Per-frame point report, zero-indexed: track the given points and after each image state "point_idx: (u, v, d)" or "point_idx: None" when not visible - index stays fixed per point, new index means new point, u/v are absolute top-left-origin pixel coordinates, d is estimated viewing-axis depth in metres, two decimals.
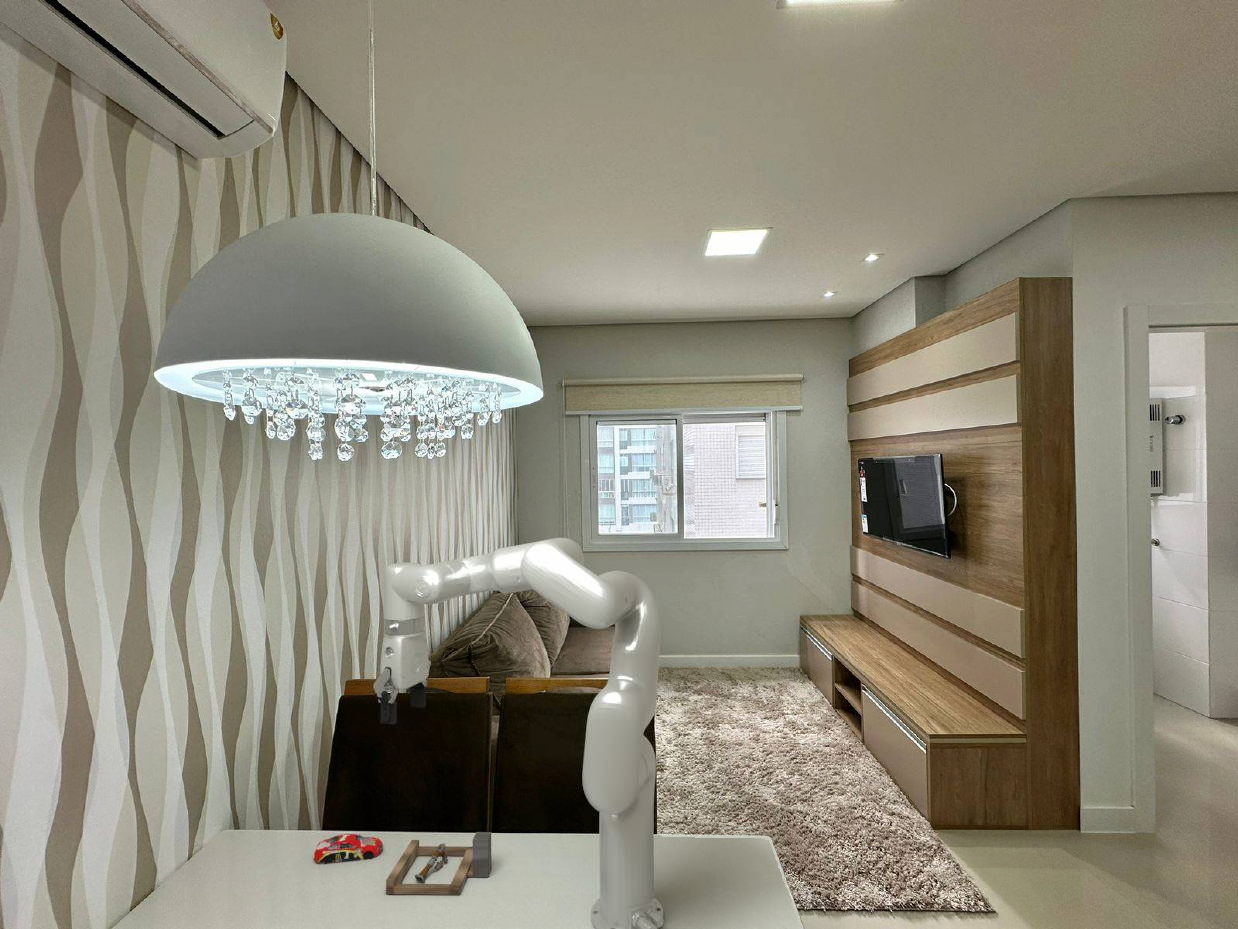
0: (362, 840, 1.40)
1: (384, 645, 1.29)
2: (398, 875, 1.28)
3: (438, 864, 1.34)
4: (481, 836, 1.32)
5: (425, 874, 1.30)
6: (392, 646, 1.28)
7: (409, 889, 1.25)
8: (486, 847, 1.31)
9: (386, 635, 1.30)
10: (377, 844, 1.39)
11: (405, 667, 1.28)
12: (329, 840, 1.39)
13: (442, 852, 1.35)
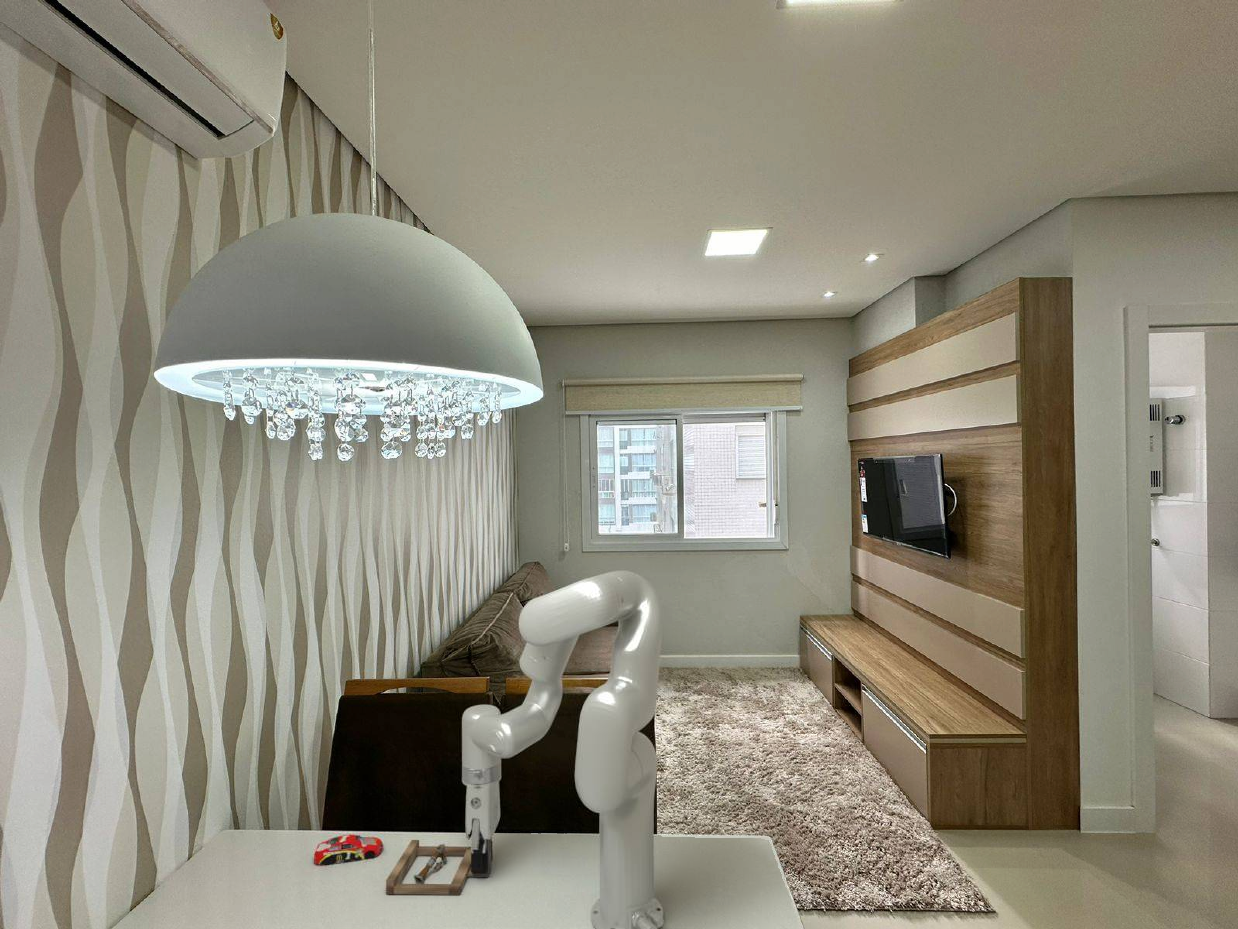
0: (362, 840, 1.40)
1: (469, 796, 1.28)
2: (398, 875, 1.28)
3: (437, 865, 1.34)
4: None
5: (424, 875, 1.30)
6: (479, 797, 1.28)
7: (409, 889, 1.25)
8: None
9: (469, 785, 1.29)
10: (378, 844, 1.40)
11: (491, 815, 1.29)
12: (329, 841, 1.38)
13: (441, 853, 1.34)
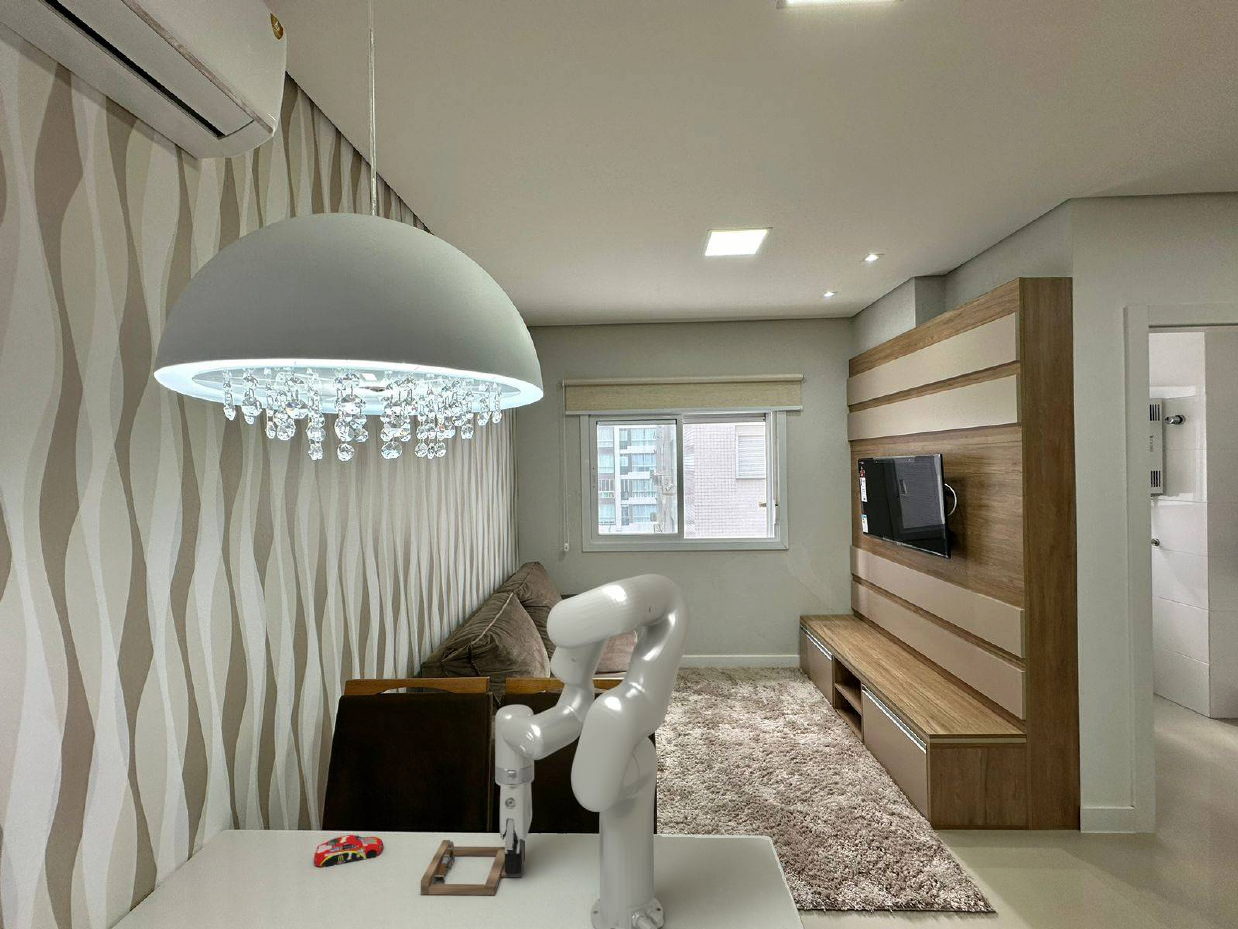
0: (362, 840, 1.40)
1: (504, 796, 1.28)
2: (432, 875, 1.28)
3: (449, 863, 1.34)
4: None
5: (443, 873, 1.30)
6: (514, 797, 1.28)
7: (444, 889, 1.25)
8: None
9: (503, 785, 1.29)
10: (379, 843, 1.40)
11: (525, 815, 1.29)
12: (328, 843, 1.38)
13: (452, 850, 1.35)
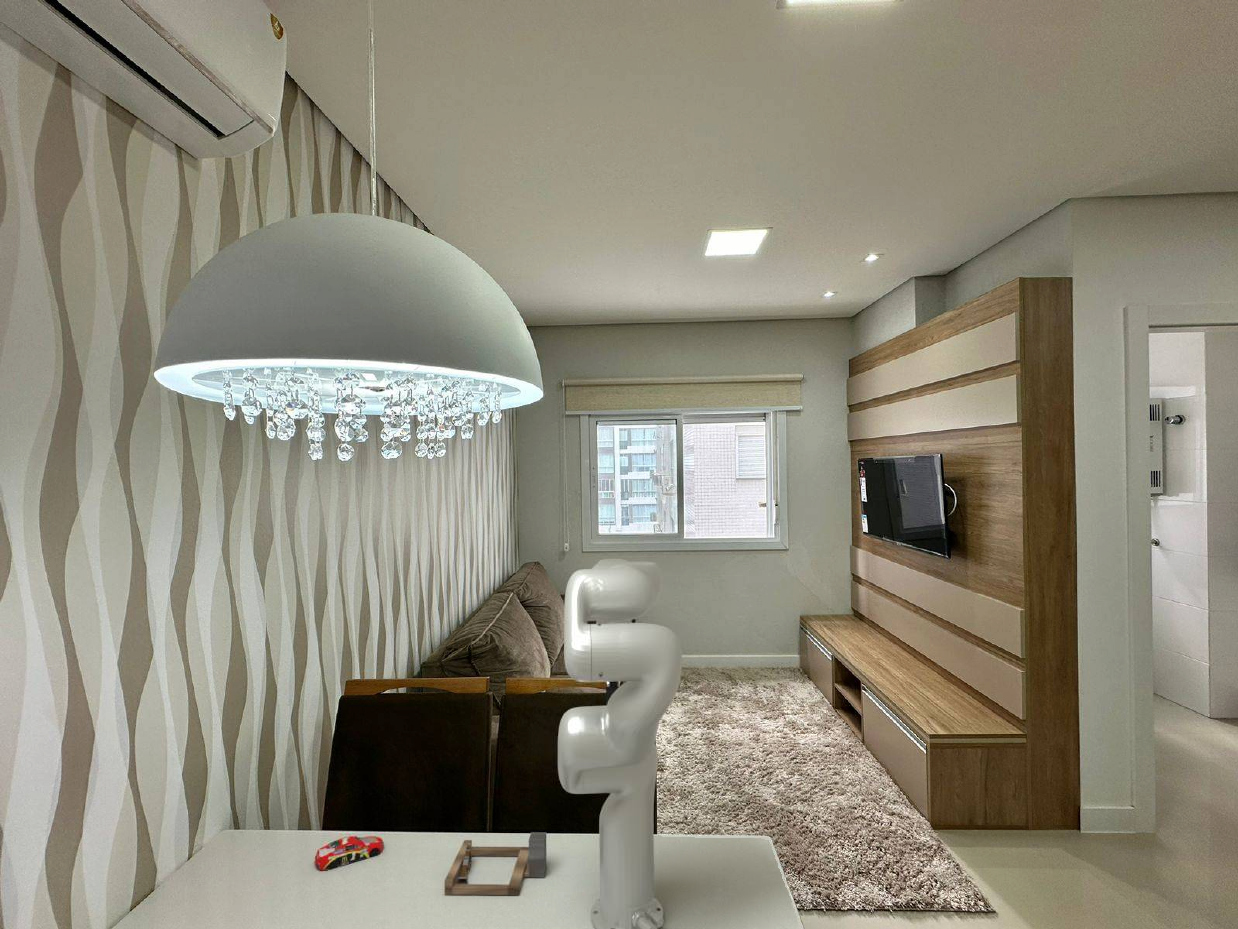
0: (363, 840, 1.40)
1: None
2: (455, 875, 1.27)
3: (467, 864, 1.34)
4: (537, 836, 1.32)
5: (465, 875, 1.30)
6: None
7: (468, 889, 1.25)
8: (542, 847, 1.30)
9: None
10: (380, 841, 1.41)
11: None
12: (329, 846, 1.37)
13: (470, 852, 1.35)
